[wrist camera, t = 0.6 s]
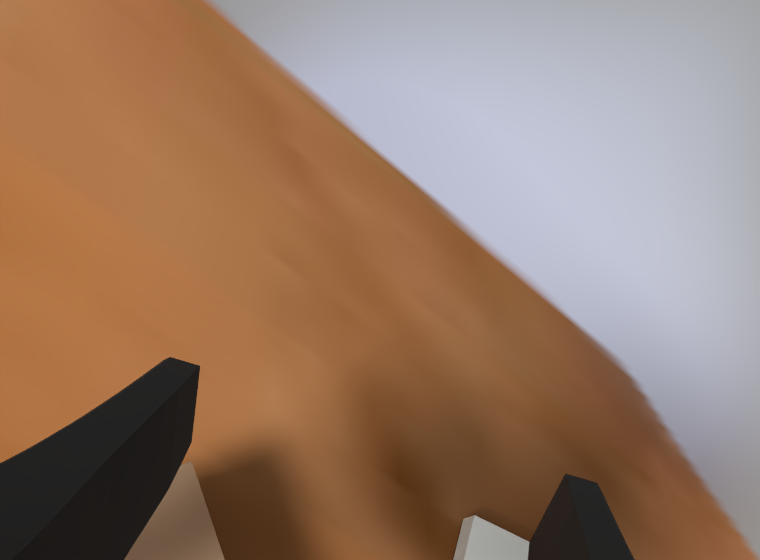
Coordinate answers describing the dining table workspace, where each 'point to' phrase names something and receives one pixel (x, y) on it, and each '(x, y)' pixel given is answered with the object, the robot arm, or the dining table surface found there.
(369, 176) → the dining table surface
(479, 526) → the grey board
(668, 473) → the dining table surface
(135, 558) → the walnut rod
